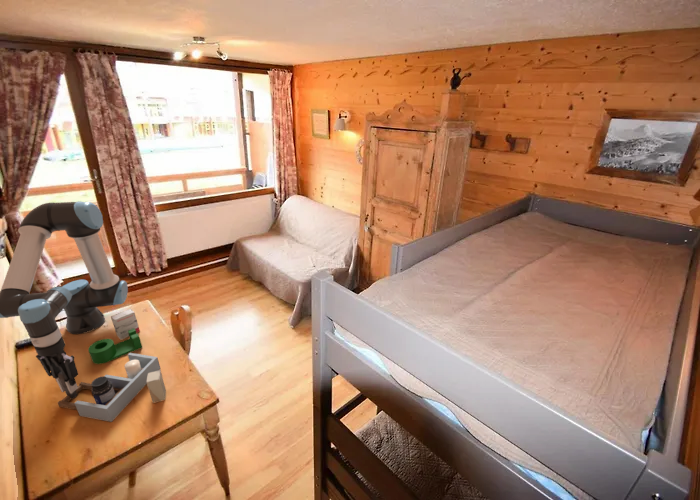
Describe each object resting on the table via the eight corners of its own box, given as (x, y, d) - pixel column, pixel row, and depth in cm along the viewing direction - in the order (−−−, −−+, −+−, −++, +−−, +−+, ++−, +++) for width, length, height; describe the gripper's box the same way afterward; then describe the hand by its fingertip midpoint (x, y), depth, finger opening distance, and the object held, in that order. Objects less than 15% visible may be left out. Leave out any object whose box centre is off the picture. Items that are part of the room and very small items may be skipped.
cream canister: (135, 373, 135) (131, 358, 132) (146, 375, 135) (142, 360, 131) (126, 382, 131) (121, 367, 127) (137, 384, 130) (132, 369, 127)
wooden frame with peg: (81, 385, 128) (71, 362, 123) (127, 393, 126) (119, 370, 121) (57, 406, 120) (45, 382, 115) (106, 415, 117) (97, 391, 112)
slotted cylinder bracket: (94, 367, 137) (90, 356, 135) (90, 356, 143) (86, 345, 140) (142, 347, 149) (139, 336, 146) (136, 338, 155) (133, 327, 152)
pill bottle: (95, 402, 122) (87, 380, 117) (114, 393, 126) (107, 371, 121) (99, 412, 118) (90, 390, 114) (119, 402, 122) (111, 381, 118)
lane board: (133, 364, 140) (129, 352, 137) (160, 368, 138) (157, 357, 135) (80, 415, 117) (74, 403, 114) (111, 421, 115) (106, 409, 112)
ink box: (136, 327, 162) (130, 307, 157) (140, 331, 159) (134, 311, 154) (116, 335, 155) (109, 315, 150) (120, 340, 153) (113, 320, 148)
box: (154, 393, 127) (147, 372, 122) (166, 390, 128) (160, 369, 124) (152, 403, 122) (146, 382, 118) (165, 400, 124) (159, 379, 119)
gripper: (16, 345, 110) (41, 394, 120) (57, 351, 108) (79, 401, 118) (39, 331, 117) (61, 379, 127) (78, 337, 115) (97, 385, 125)
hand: (69, 389), depth 122 cm, fingers closed on wooden frame with peg, 3 cm apart
